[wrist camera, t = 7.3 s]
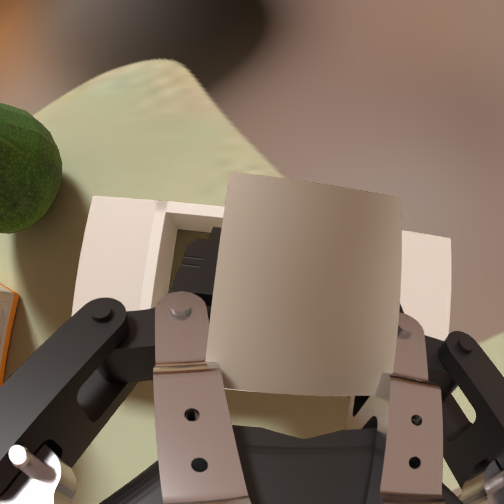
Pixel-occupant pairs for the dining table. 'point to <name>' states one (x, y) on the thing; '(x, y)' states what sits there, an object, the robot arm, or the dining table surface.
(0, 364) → the supplement box
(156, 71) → the dining table surface
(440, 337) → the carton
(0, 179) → the avocado
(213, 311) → the capped block
